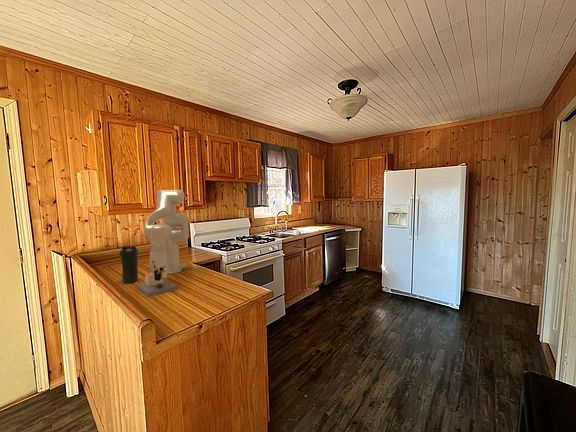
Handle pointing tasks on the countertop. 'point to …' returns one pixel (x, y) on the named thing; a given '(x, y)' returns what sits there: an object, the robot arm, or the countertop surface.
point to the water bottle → (129, 264)
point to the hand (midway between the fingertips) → (159, 279)
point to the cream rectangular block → (151, 280)
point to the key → (162, 275)
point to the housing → (157, 288)
